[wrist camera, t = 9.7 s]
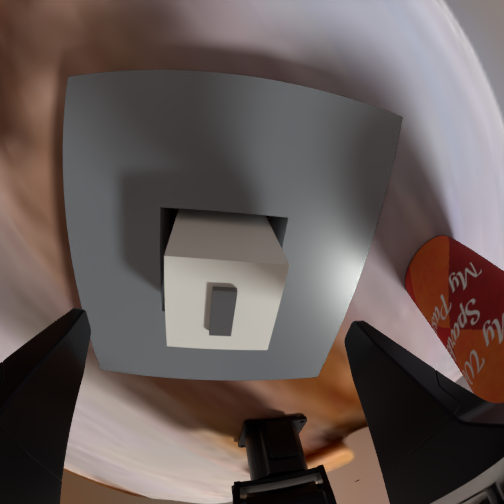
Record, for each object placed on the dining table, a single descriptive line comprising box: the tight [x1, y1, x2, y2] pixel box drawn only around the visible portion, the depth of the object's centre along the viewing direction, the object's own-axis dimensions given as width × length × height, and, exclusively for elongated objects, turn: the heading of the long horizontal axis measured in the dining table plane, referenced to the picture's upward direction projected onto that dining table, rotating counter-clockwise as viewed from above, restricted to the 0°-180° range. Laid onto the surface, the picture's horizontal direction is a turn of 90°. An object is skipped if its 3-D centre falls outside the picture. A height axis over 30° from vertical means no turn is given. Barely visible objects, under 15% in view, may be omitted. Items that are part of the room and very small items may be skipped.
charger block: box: [164, 208, 289, 350], centre depth 12 cm, size 4×4×6 cm
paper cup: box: [405, 235, 504, 403], centre depth 12 cm, size 8×8×14 cm
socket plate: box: [63, 70, 402, 381], centre depth 14 cm, size 16×14×3 cm
